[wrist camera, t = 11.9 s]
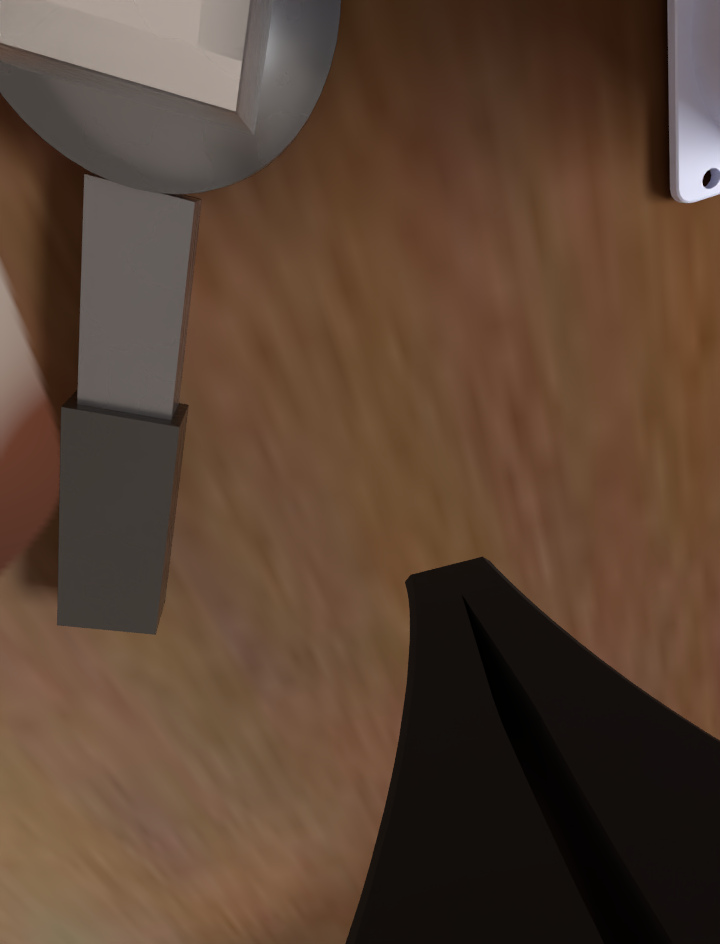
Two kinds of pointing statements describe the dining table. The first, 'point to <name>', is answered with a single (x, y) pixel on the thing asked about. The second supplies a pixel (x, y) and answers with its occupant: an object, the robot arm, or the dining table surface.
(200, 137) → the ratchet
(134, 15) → the white boxy piece
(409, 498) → the dining table surface
